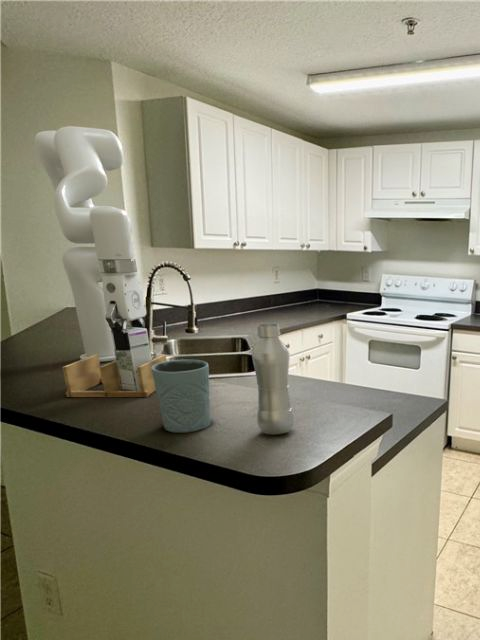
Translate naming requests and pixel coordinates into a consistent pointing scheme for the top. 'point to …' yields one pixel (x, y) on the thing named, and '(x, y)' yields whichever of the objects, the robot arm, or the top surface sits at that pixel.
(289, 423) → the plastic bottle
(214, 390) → the top surface
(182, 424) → the blue embossed cup
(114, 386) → the wooden shelf rack
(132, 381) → the syrup box
